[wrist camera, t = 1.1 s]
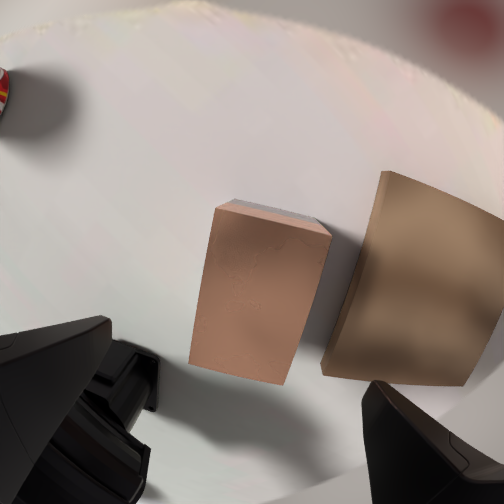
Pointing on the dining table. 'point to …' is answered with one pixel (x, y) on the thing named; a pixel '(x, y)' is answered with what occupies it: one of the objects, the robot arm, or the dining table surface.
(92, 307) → the dining table surface
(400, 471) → the robot arm
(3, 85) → the soda can
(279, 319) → the peach block
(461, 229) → the walnut stand
